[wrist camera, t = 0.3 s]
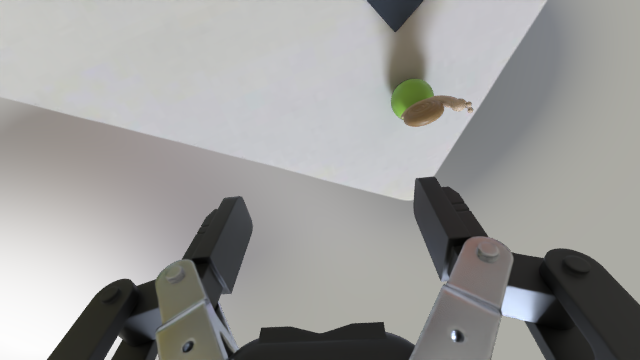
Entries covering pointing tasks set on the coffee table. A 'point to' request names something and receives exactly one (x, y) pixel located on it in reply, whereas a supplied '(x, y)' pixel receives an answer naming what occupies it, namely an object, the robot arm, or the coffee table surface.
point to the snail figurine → (422, 103)
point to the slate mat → (395, 10)
